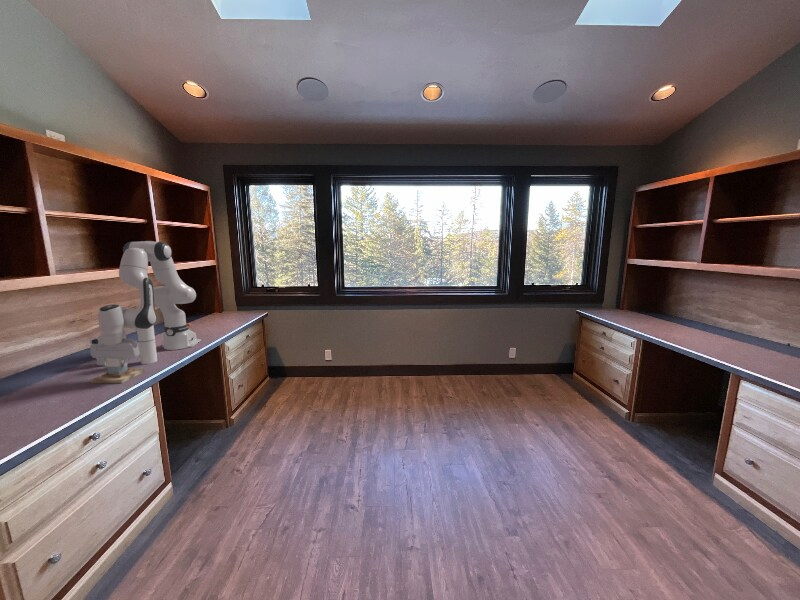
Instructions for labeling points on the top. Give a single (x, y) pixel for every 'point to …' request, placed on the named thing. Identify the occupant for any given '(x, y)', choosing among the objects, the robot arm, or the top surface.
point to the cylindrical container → (147, 345)
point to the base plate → (117, 376)
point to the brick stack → (115, 366)
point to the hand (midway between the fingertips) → (117, 366)
